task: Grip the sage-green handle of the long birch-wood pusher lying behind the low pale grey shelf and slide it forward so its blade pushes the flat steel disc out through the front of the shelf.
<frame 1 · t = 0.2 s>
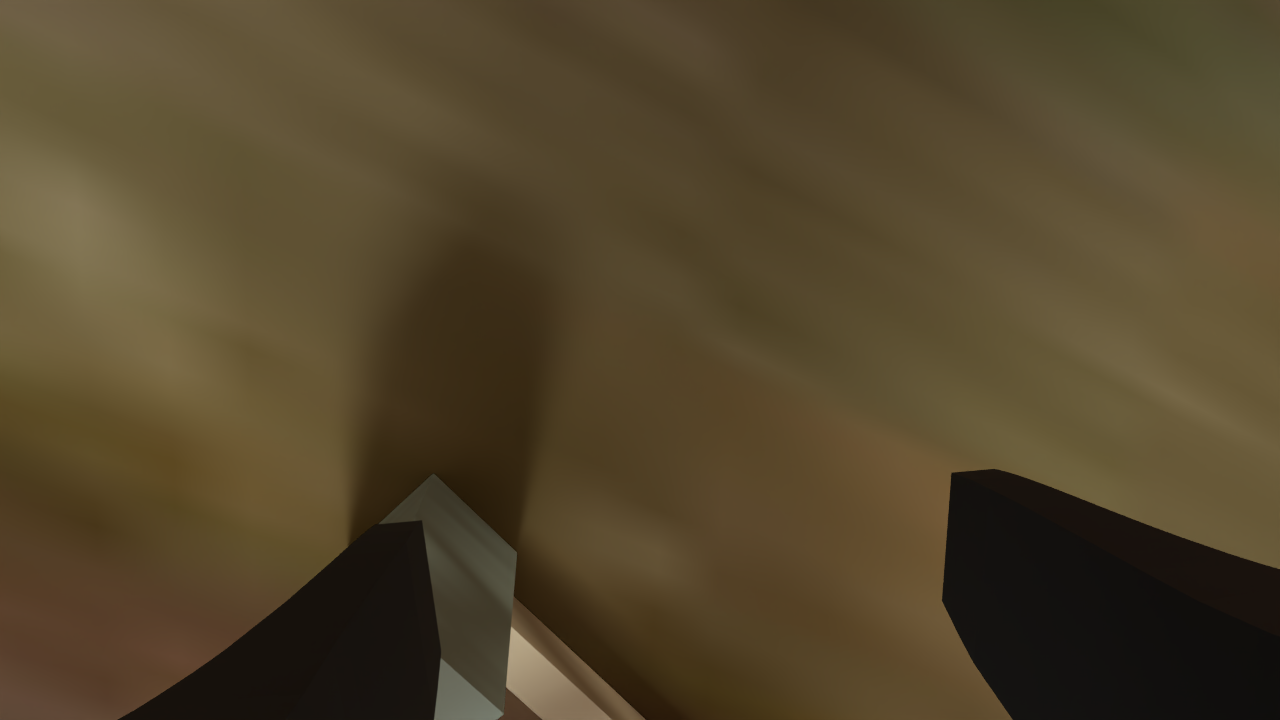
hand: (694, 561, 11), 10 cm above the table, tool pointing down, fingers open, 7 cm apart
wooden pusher: (433, 552, 22), on the table
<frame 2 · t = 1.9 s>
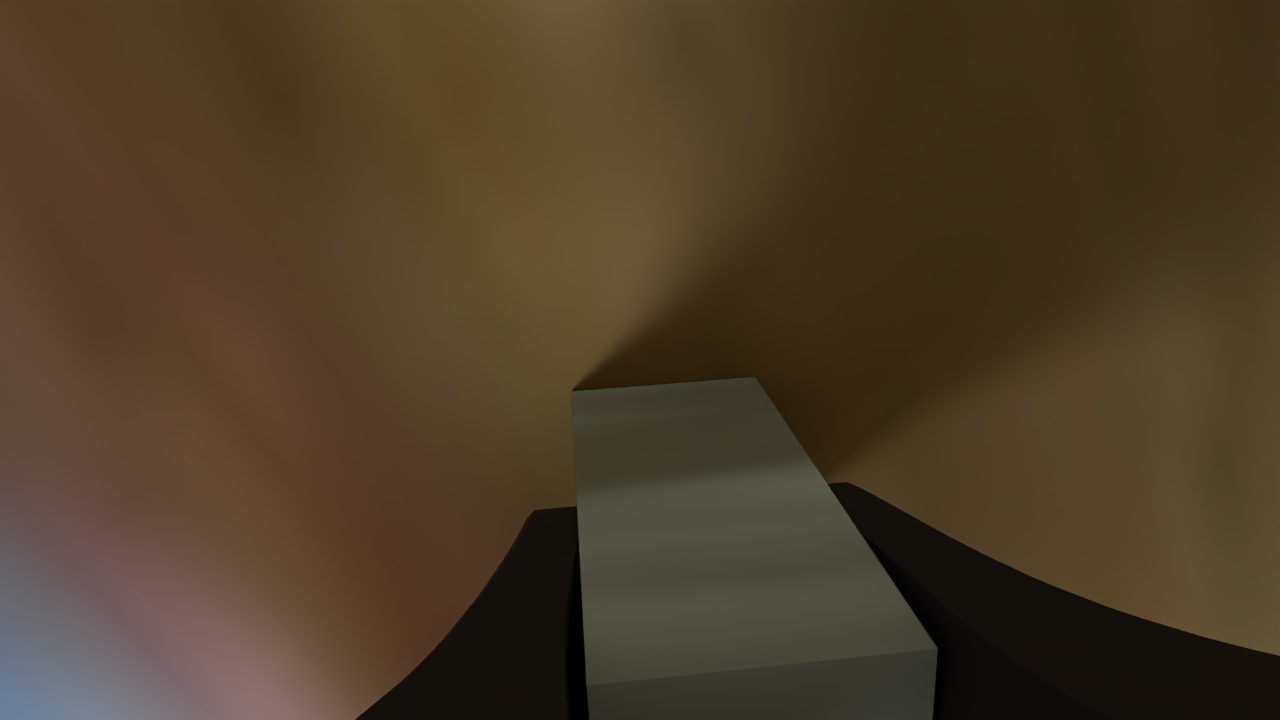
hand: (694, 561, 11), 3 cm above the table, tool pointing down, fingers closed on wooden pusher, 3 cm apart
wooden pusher: (667, 468, 14), on the table, touching gripper
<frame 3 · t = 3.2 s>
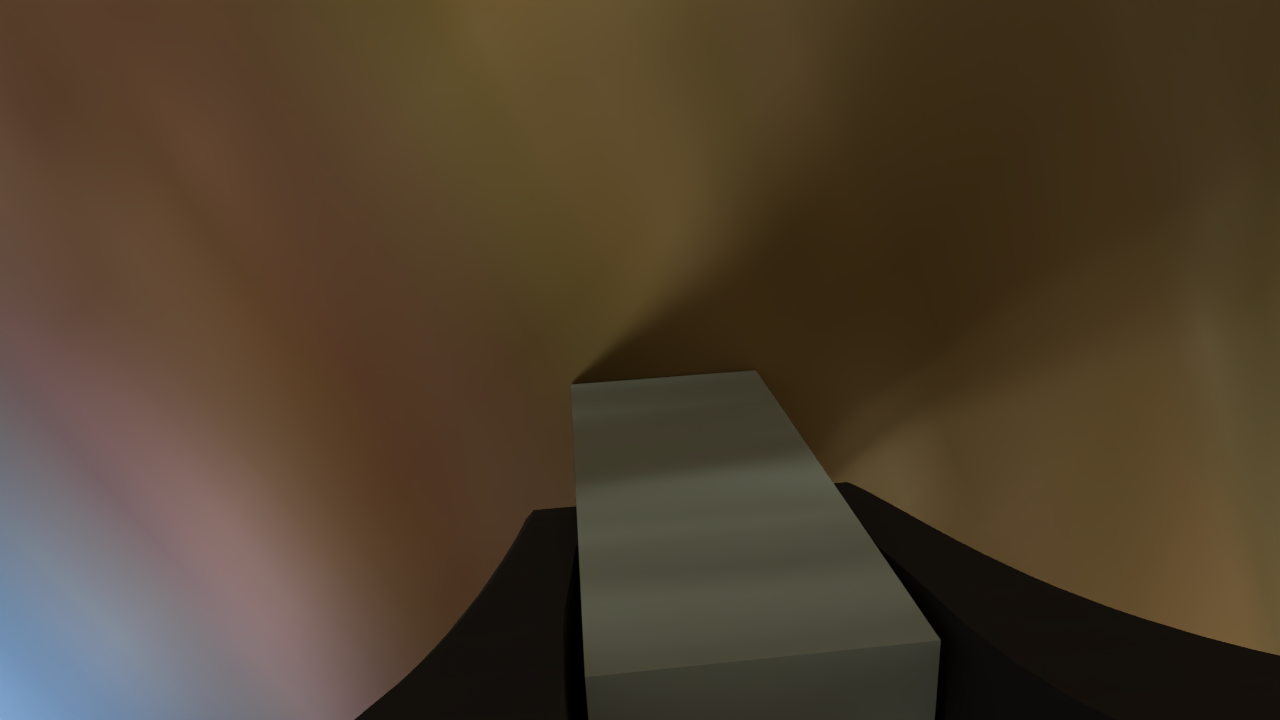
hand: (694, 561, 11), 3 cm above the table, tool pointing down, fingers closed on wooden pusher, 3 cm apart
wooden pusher: (667, 462, 14), on the table, touching gripper
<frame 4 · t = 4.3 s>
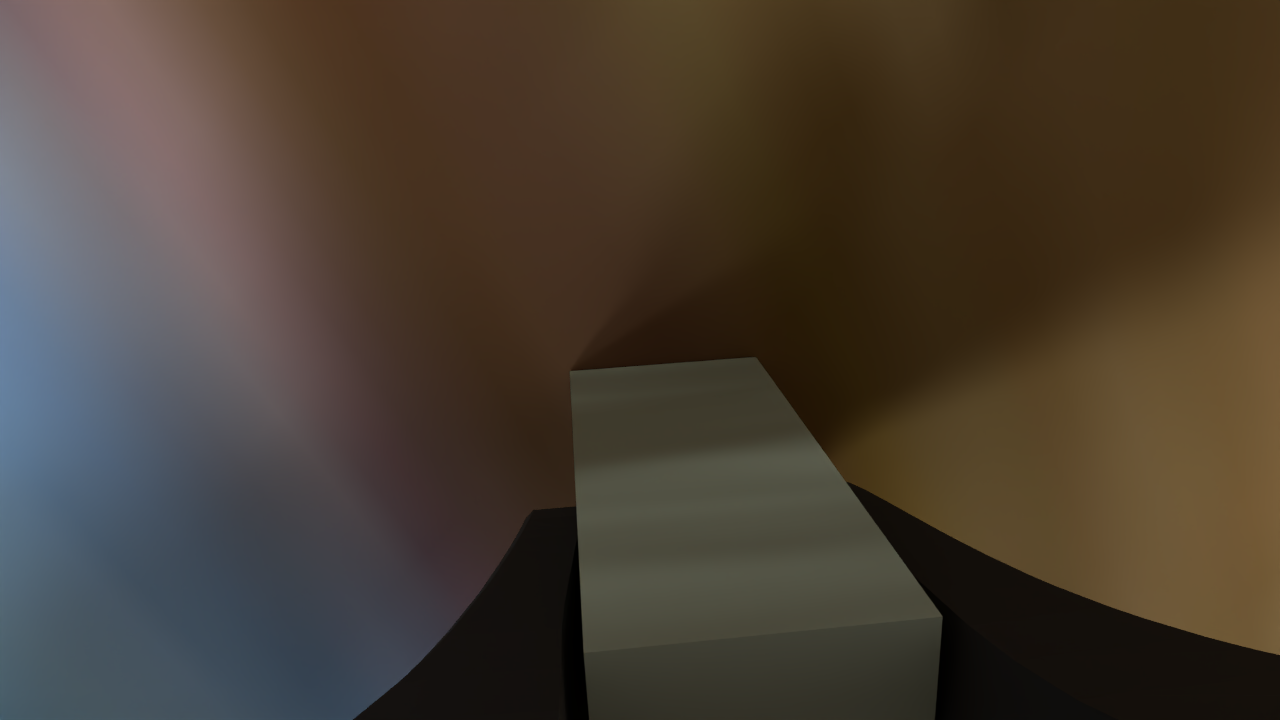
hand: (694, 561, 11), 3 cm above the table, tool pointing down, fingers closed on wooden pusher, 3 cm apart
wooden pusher: (667, 449, 14), on the table, touching gripper
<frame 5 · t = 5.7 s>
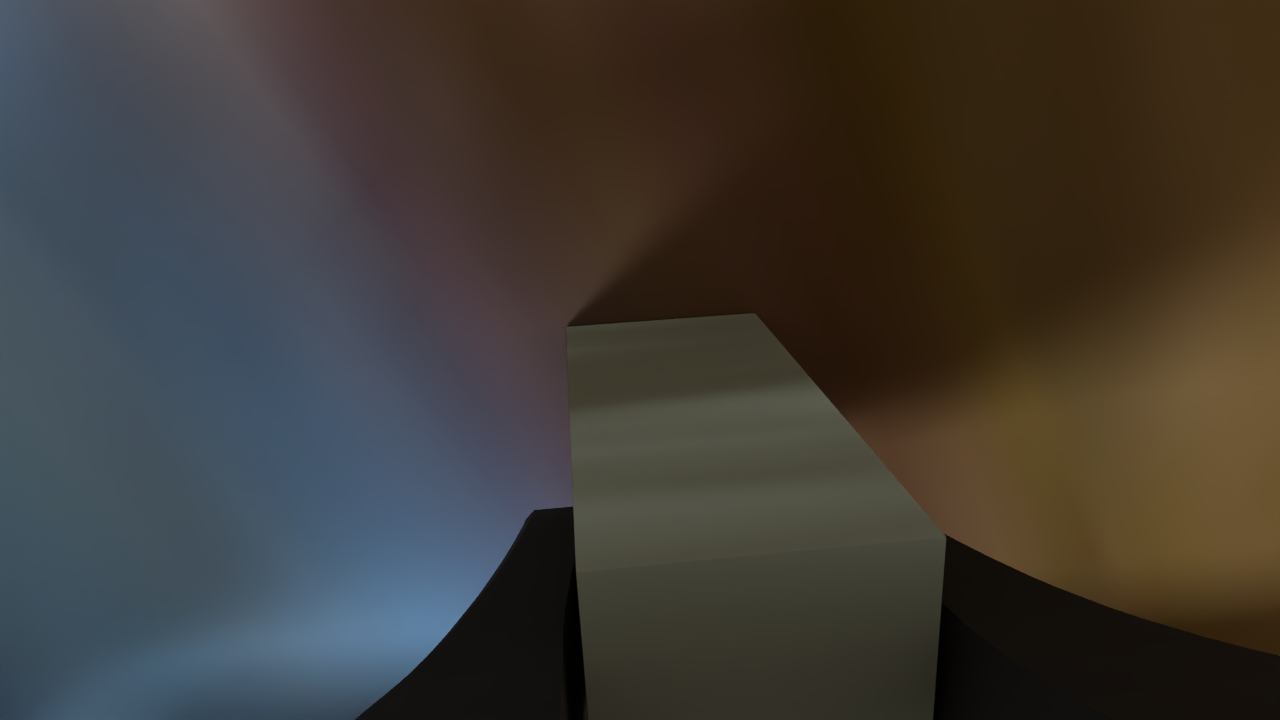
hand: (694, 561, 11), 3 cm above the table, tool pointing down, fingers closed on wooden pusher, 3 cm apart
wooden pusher: (665, 408, 14), on the table, touching gripper
when the fingers open (3 cm above the table, at t = 6.8 s): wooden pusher stays where it is, on the table.
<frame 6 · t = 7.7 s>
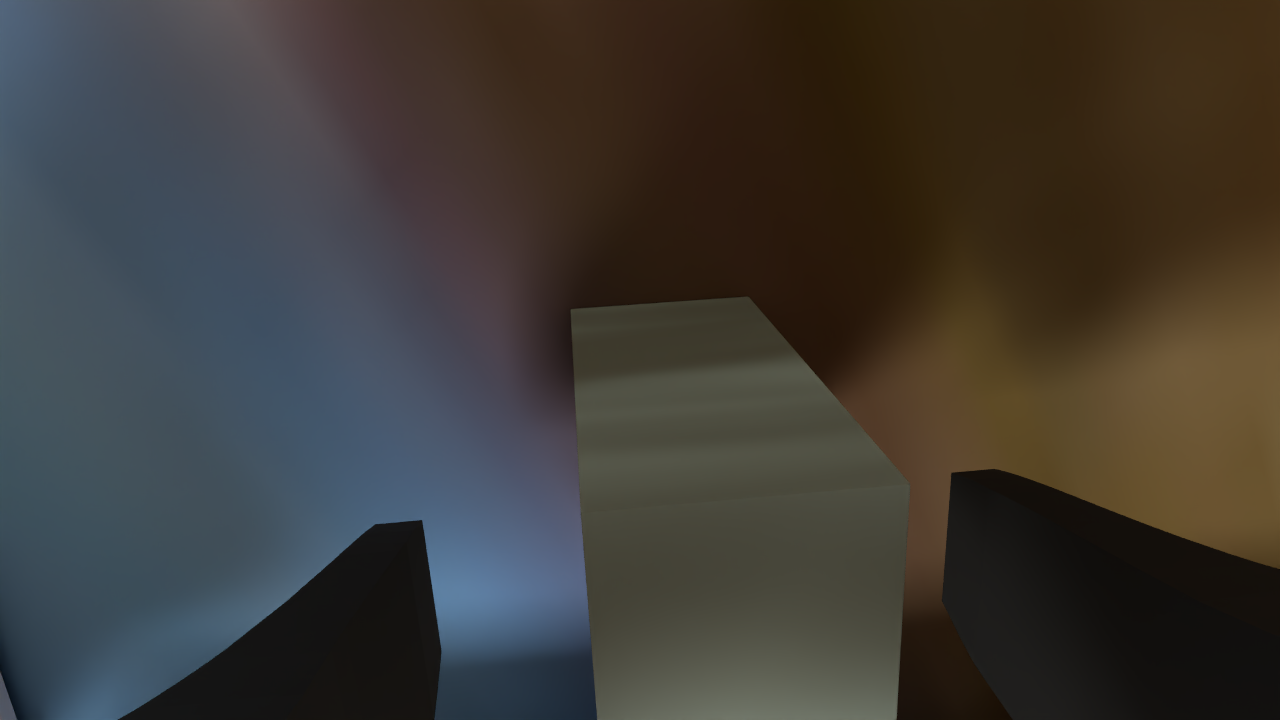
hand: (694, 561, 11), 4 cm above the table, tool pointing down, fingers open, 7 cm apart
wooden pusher: (663, 386, 15), on the table
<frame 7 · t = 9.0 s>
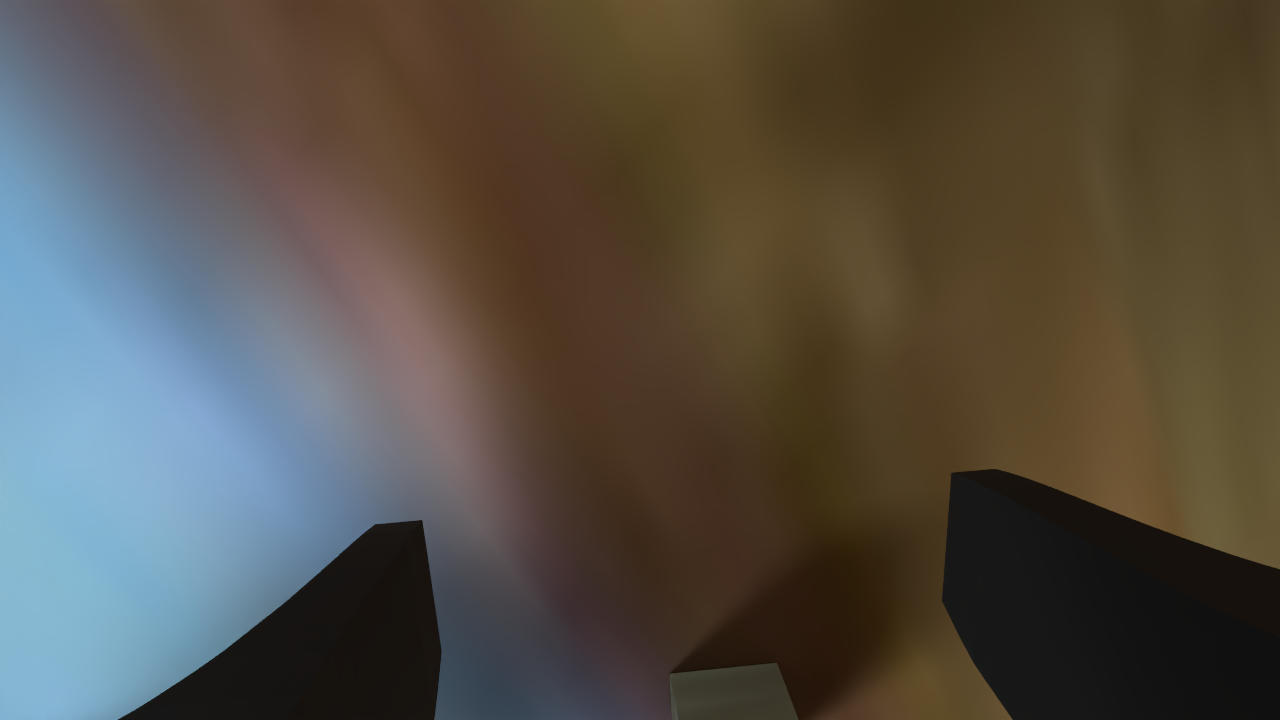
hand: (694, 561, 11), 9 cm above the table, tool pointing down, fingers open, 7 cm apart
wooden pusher: (724, 712, 24), on the table
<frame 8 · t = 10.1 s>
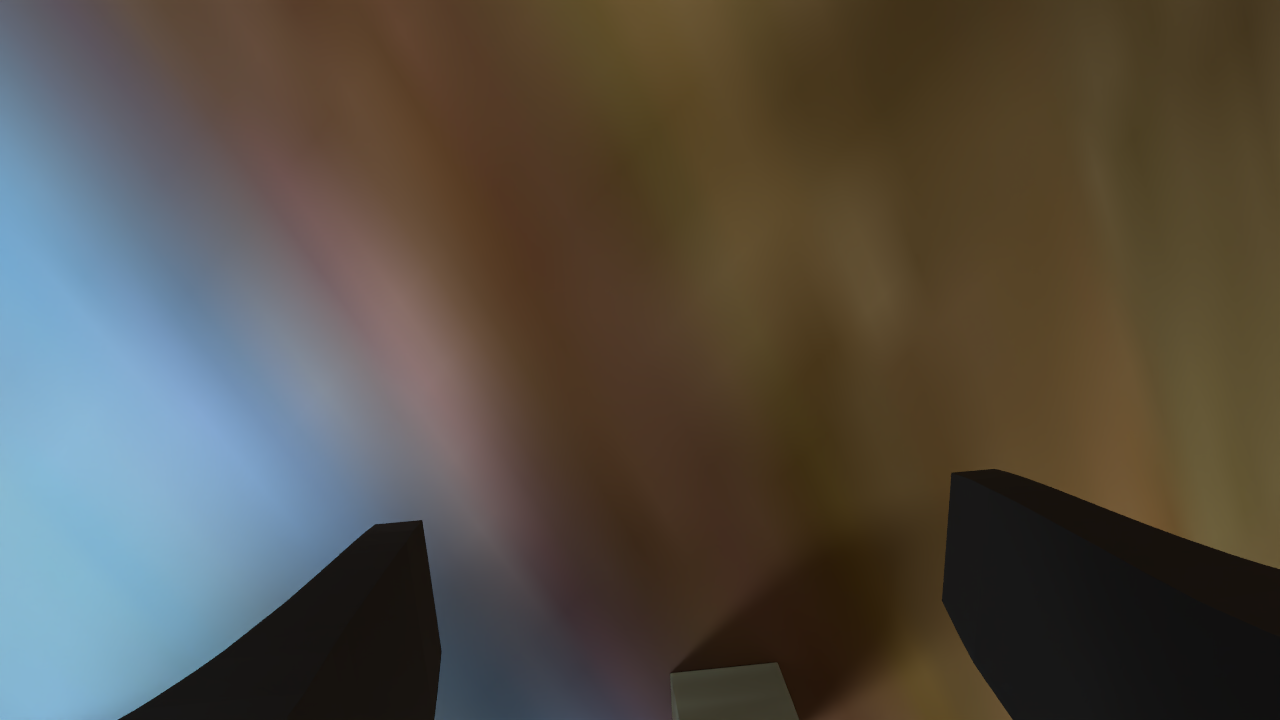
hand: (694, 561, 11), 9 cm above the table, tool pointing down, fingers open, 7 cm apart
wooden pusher: (724, 712, 24), on the table
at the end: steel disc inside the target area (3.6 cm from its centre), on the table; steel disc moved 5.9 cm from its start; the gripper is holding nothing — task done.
